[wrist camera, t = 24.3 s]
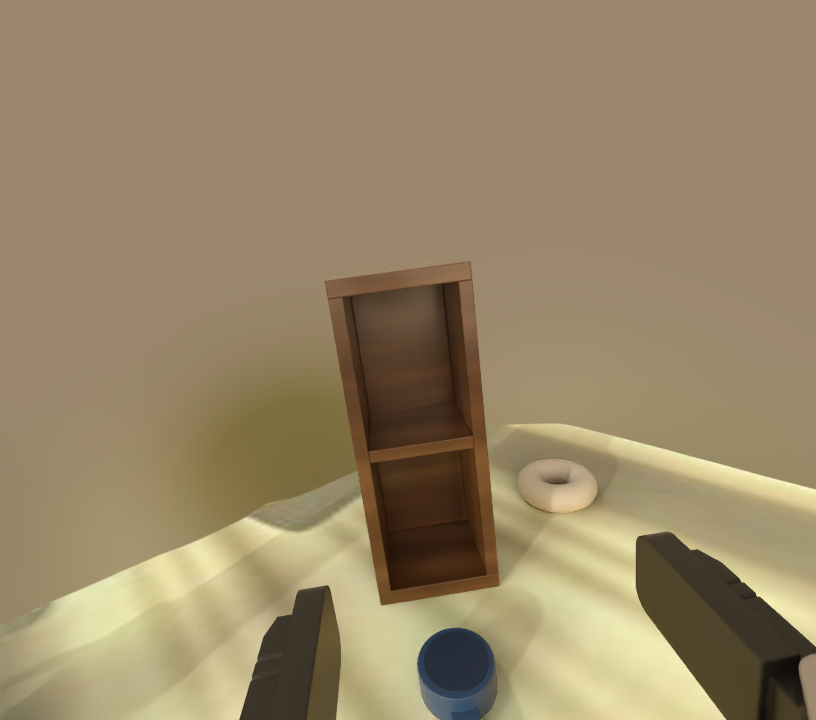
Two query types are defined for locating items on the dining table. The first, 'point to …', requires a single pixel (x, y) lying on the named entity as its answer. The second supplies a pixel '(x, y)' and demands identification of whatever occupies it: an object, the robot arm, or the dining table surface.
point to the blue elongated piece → (457, 675)
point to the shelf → (417, 425)
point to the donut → (544, 492)
